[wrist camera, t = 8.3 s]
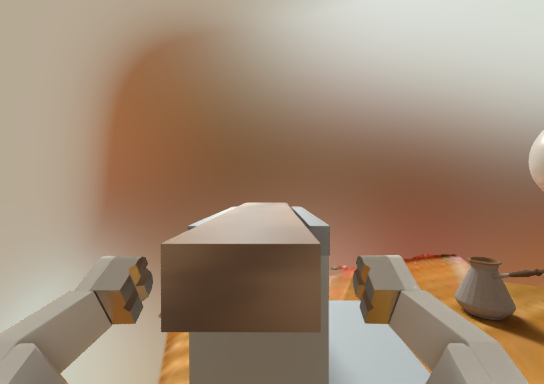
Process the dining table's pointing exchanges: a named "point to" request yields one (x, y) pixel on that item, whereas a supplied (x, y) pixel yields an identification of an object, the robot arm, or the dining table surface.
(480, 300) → the coffee pot
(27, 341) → the robot arm
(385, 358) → the step box
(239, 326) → the brown bar
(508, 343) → the dining table surface
